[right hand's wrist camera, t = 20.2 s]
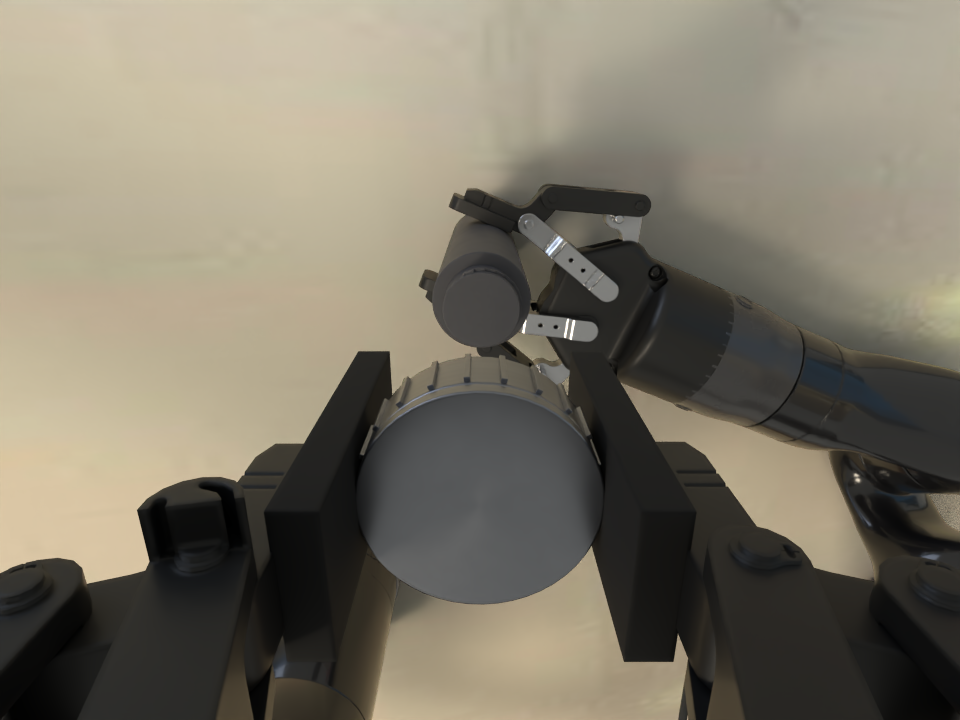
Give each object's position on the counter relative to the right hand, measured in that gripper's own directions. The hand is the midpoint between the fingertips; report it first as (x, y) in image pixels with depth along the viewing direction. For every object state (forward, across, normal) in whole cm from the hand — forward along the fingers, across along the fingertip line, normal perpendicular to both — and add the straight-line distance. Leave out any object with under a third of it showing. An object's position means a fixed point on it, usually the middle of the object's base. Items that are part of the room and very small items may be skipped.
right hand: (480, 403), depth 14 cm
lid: (-4, 0, 0) cm, 4 cm away
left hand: (+20, -2, +1) cm, 20 cm away
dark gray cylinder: (+27, 0, 0) cm, 27 cm away
